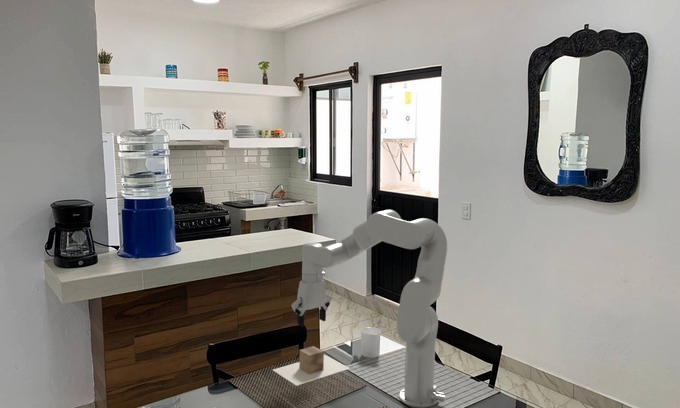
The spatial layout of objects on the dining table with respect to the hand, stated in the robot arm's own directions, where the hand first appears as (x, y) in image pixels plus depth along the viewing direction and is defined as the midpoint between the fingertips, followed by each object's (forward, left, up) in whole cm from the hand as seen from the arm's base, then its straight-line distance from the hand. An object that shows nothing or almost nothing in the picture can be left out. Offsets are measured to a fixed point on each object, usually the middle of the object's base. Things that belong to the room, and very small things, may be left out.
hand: (311, 322), depth 192 cm
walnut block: (0, 0, -18) cm, 18 cm away
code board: (0, 0, -18) cm, 18 cm away
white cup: (-12, -25, -19) cm, 33 cm away
